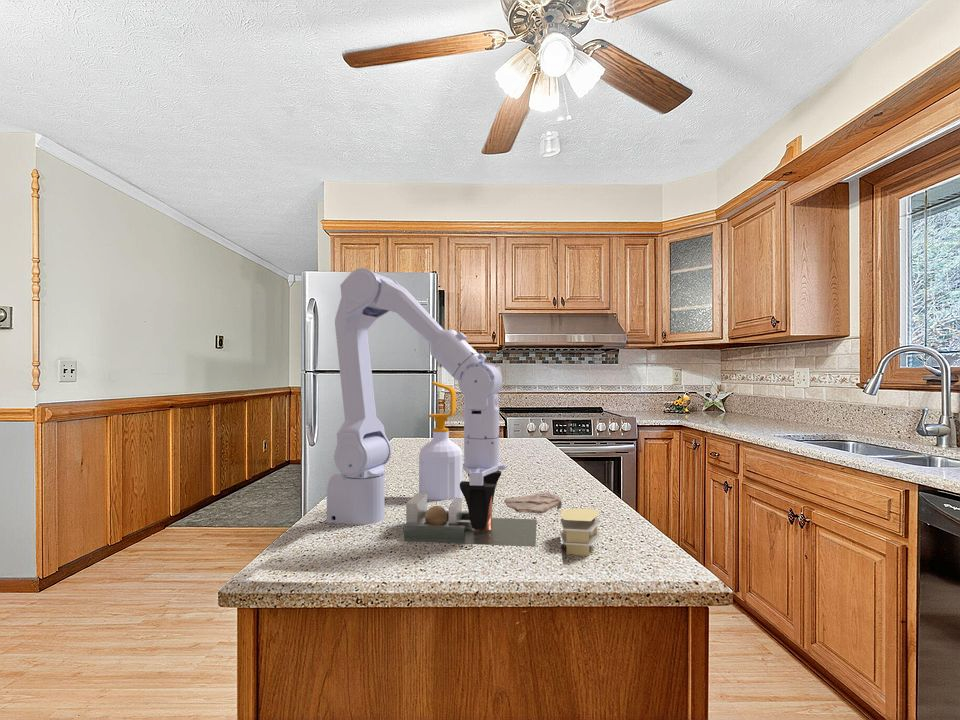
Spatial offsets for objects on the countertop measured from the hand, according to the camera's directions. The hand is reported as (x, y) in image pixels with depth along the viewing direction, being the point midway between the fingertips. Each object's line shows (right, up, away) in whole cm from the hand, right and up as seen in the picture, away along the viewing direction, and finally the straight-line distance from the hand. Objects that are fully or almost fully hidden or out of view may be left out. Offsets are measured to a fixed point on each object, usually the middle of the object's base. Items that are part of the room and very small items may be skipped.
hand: (481, 521), depth 85 cm
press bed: (-2, -3, 0) cm, 3 cm away
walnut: (-7, -1, +1) cm, 8 cm away
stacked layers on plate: (+15, -3, -5) cm, 16 cm away
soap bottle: (-8, -3, +24) cm, 26 cm away
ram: (-2, -1, 0) cm, 2 cm away
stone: (+10, -4, +16) cm, 19 cm away
